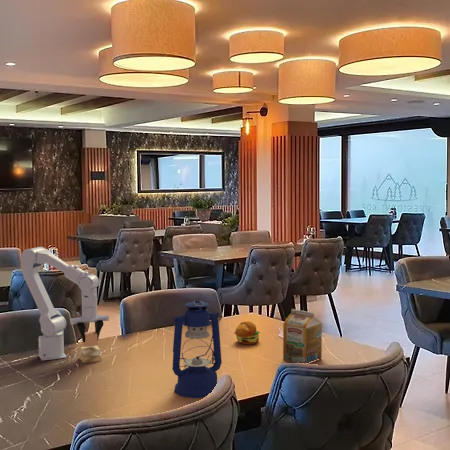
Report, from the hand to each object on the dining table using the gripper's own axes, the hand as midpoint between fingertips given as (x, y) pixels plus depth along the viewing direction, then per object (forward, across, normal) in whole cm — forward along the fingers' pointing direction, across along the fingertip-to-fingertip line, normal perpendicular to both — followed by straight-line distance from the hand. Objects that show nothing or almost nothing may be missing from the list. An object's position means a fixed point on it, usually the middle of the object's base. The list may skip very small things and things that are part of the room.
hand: (90, 340), depth 238 cm
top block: (+5, 0, 0) cm, 5 cm away
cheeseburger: (+8, +66, -5) cm, 67 cm away
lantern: (+8, +24, -50) cm, 56 cm away
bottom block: (+8, 0, 0) cm, 8 cm away
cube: (+2, 0, 0) cm, 2 cm away
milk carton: (+8, +74, -36) cm, 83 cm away
